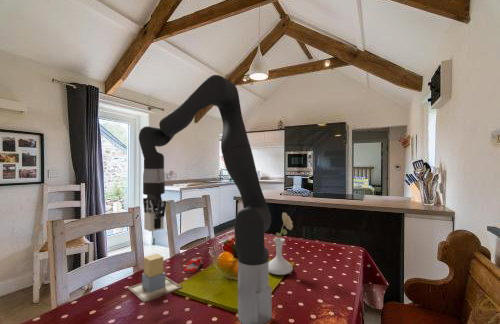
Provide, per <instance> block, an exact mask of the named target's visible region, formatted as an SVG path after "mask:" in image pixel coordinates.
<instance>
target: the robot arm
mask: <svg viewBox="0 0 500 324" xmlns="http://www.w3.org/2000/svg"><path fill="white" fill-rule="evenodd" d="M238 91H239V90H238V88H237V86H236V85H235V83H233V81H232V80H231V81H230V80H229V79H227V78H226V77H224V76H221V75H218V74H212V75H210V76H209V77H207V78H205V80H203V82H202V83H201V84H199V86H198V87H196V89H195V90H194V91H193V92H192V93H190V95H189V96H188V97H187V98H186V99H185V100H184V101H183V102H182V103H181V104H180V105H179V106H178V107H177V108H175V109H174V110H172V111H170V113H168V114H167V115H165V116H164V117H163V118H161V119H160V121H159V122H158V123H159V126H158V127H156V126H151V125H150V126H149V125H146V126H143V127H142V128H141V129H140V130H139V133H138V142H139V144H140V145H139V146H140V149H141V153H142V155H143V174H142V194H143V195H146V197H144V198H142V202H143V203H142V204H143V213H146V212H153V213H154V218H155V219H154V229H160V228H161V218H162V217H165V213H166V205H167V201H166V200H163V199H162V195H164V194H166V193H165V191H166V188H165V187H166V186H165V185H166V181H165V180H166V178H165V177H166V175H165V174H166V173H165V156H164V153H163V154H162V153H161V152H159V151H158V150H157V147H158V148H159V147H164V146H166V145H168V144H169V143H170V141H172V140H173V138H174V137H175V135H177V134H178V133H180V132H181V131H183V130H184V129H186V128H187V127H188V126H189V125H190V124H191V123H192V121H193V120H194V119H195V116H196V115H197V113H199V112H200V111H201V110H203V109H205V108H206V107H209V106H211V105H212V106H215V107H217V108H218V111H219V113H220V116H221V120H222V121H221V122H222V135H221V140H220V141H221V142H220V150H221V154H222V157H223V158H222V159H223V162H224V166H225V169H226V171H227V173H228V174H229V177H230V178H231V179H232V181H233V183H234V185H235V186H236V188H237V189H238V192H239V193H240V194H239V195H240V198H241V201H242V202H241V203H242V206H243V208H242V209H240V210H239V211H238V212H237V214H236V216H235V218H234V247H235V253H236V255H237V319H238V321H239V322H240V323H241V324H266V323H268V322H270V321H271V320H272V317H273V316H272V311H273V310H272V286H270V283H269V282H270V281H269V279H270V278H269V277H270V275H269V273H270V272H269V262H270V261H269V259H270V258H269V254H270V253H269V250H268V249H267V247H266V246H265V233H266V232H267V231H268V230H269V229H270V227H271V223H272V215H271V212H270V209H269V206H268V203H267V202H266V199H265V196H264V194H263V190H262V187H261V184H260V180H259V175H258V171H257V168H256V163H255V159H254V155H253V152H252V147H251V144H250V141H249V137H248V134H247V130H246V127H245V123H244V122H245V121H244V119H243V114H242V108H241V103H240V95H239V92H238ZM156 212H157V214H156ZM161 212H162V213H161Z"/></svg>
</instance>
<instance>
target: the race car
mask: <svg viewBox="0 0 500 324" xmlns="http://www.w3.org/2000/svg"><path fill="white" fill-rule="evenodd" d="M185 265H186V266H184V267H185V268H184V269H183V272H184V273H186V274H194V273H196V272H197V271H199V270H200V268H201V267H202V265H203V262H202V259H201V258H200V257H192V258H191V259H190V260H189V261H188V262H187V263H186V264H185Z"/></svg>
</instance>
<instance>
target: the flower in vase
mask: <svg viewBox="0 0 500 324" xmlns="http://www.w3.org/2000/svg"><path fill="white" fill-rule="evenodd" d="M281 219H282V222H283V224H282V227H281V230H280V233H279V232H276V233H275V236H278V237H275V238H273V239H272V240H273V242H274V243H275V248H276V254H275V257H273V259H272V260H270V261H269V273H270V274H273V275H276V276H284V275H288V274H291V273H292V272H293V269H294V268H293V265H292V264H291V263H290V262H289V261H287V260H286V258H284V257H283V253H282V252H283V244H284V242H285V240H286V239H285V238H283V237H281V236H282V234H283V235H284V236H286V235H288V231H287V230H286V229H288V230H289V231H292V230H293V228H294V226H293V223H294V222H293V220H292V219H291V217H290V215H288V213H286V212H282V215H281ZM284 226H285V227H286V229H285V228H284Z"/></svg>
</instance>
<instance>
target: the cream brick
mask: <svg viewBox="0 0 500 324" xmlns="http://www.w3.org/2000/svg"><path fill="white" fill-rule="evenodd" d="M143 213H144V212H143ZM161 213H162V211H161ZM156 214H157V212H156ZM143 216H144V218H143V221H144V222H143V223H144V225H143V226H144V228H143V230H146V231H148V232H154V231H160V230H163V229H164V227H165V226H164V225H165V224H164V221H165V219H164V217H165V216H164V217H162V218H161V228H160V229H154V219H155V218H154V213H153V212H146V213H144V215H143Z"/></svg>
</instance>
